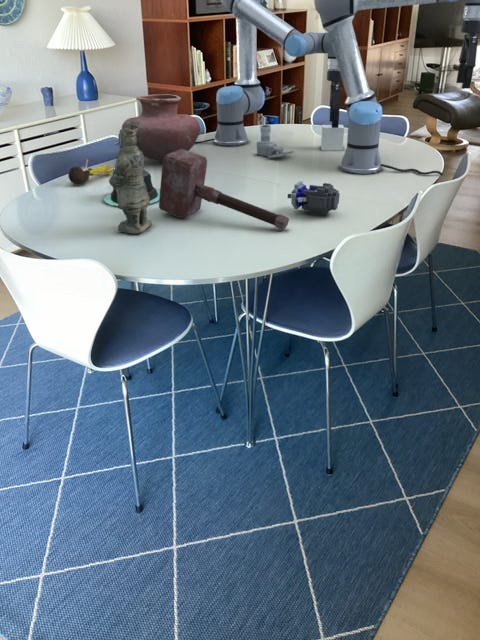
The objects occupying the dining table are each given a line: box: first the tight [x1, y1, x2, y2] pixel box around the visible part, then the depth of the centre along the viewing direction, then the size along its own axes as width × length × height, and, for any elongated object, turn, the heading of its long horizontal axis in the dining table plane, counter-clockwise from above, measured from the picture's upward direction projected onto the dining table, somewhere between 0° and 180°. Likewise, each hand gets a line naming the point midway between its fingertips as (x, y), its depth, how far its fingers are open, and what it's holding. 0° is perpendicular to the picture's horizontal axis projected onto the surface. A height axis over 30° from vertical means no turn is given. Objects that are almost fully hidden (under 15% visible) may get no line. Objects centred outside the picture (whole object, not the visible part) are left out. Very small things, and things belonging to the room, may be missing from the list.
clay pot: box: [121, 93, 201, 163], centre depth 222 cm, size 30×30×25 cm
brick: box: [320, 124, 345, 151], centre depth 238 cm, size 9×6×9 cm
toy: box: [287, 180, 341, 216], centre depth 168 cm, size 9×9×15 cm
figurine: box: [67, 158, 115, 186], centre depth 207 cm, size 13×8×25 cm
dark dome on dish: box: [103, 168, 160, 207], centre depth 186 cm, size 15×19×20 cm
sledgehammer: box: [158, 149, 290, 231], centre depth 163 cm, size 17×10×40 cm
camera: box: [256, 124, 295, 159], centre depth 227 cm, size 9×12×15 cm
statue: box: [108, 121, 153, 235], centre depth 154 cm, size 11×9×30 cm
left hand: (333, 124), depth 235 cm, fingers open, 13 cm apart
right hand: (462, 85), depth 203 cm, fingers open, 13 cm apart
